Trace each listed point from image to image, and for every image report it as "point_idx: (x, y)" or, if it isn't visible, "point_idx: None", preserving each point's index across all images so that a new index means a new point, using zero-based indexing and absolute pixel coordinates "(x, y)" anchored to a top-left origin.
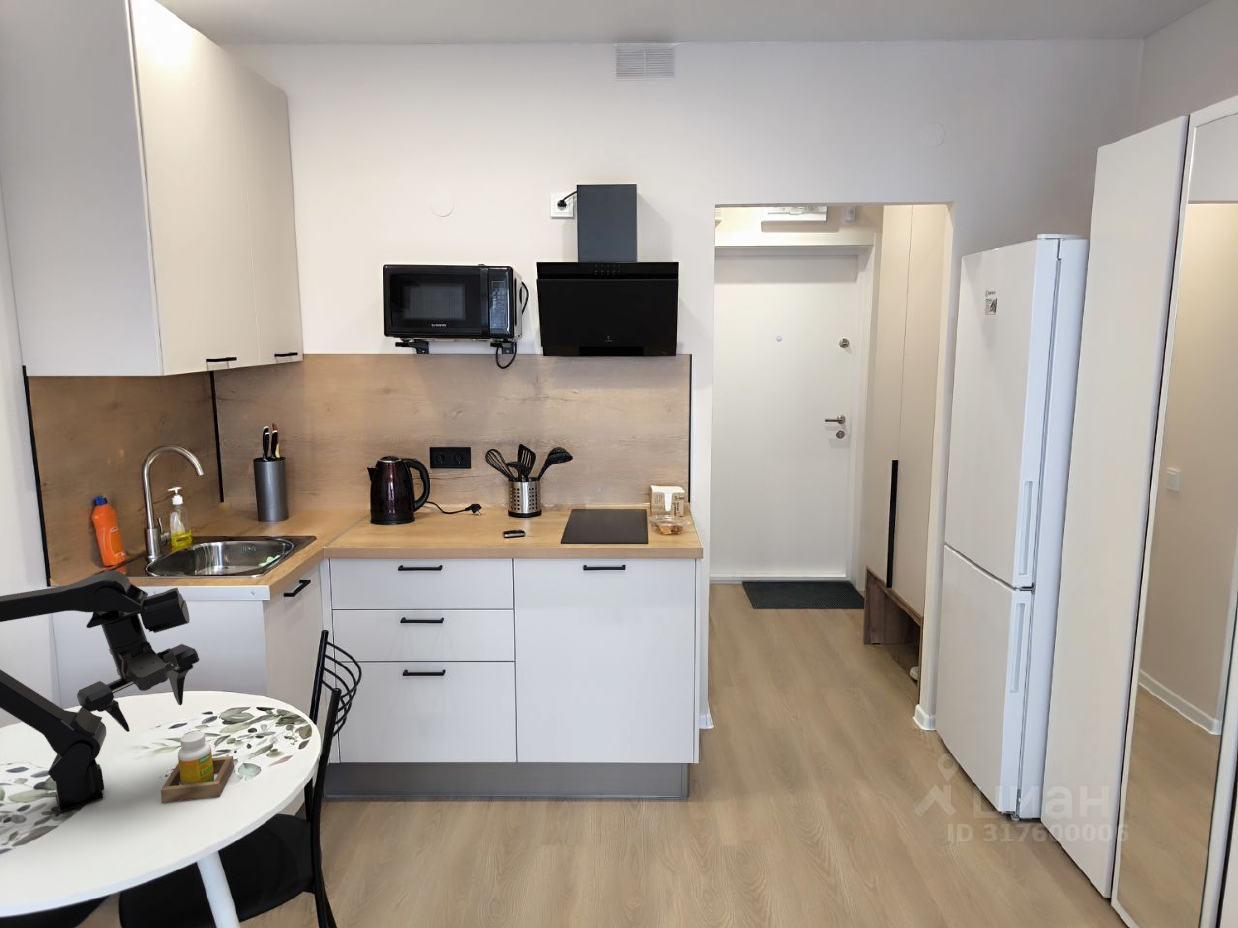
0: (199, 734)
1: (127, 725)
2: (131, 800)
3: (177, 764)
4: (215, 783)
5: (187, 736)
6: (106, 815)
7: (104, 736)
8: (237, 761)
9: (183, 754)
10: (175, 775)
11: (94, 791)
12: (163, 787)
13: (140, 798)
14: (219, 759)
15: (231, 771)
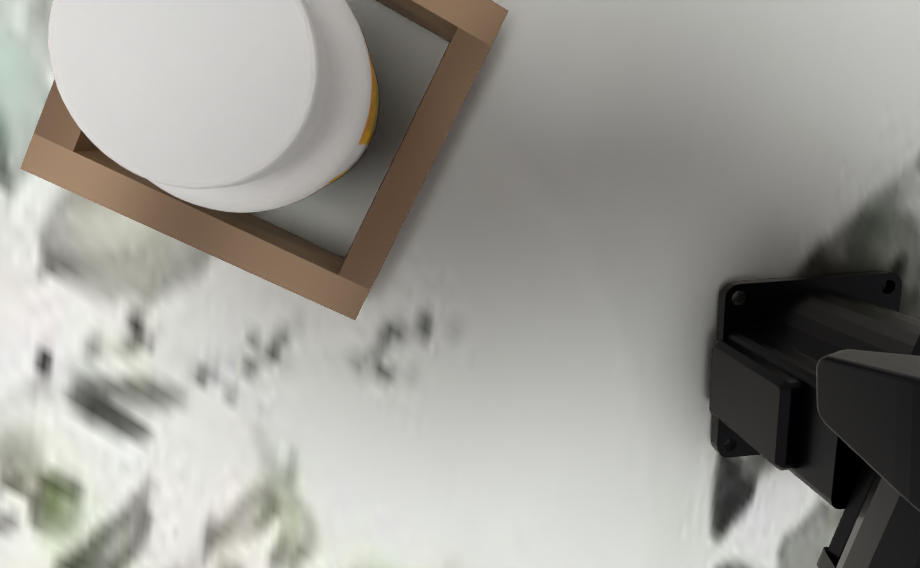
0: (107, 55)
1: (904, 374)
2: (616, 174)
3: (368, 287)
4: None
5: (238, 94)
6: (739, 101)
7: (897, 545)
8: (45, 234)
9: (327, 3)
10: (400, 149)
11: (765, 327)
12: (487, 34)
13: (576, 164)
14: (116, 178)
15: None
